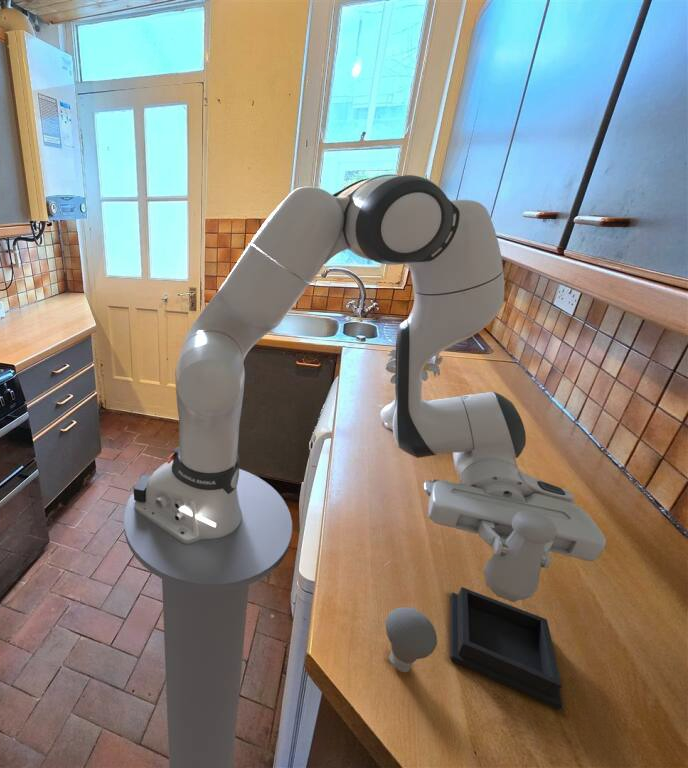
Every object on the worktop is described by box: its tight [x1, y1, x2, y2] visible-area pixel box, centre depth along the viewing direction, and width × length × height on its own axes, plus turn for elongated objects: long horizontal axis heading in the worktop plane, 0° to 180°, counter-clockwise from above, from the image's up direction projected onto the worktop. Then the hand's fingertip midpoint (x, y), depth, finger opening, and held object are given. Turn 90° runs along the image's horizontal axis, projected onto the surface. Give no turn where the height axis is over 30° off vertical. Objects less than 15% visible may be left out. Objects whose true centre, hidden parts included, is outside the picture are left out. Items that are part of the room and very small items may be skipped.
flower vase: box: [380, 349, 443, 431], centre depth 110 cm, size 13×18×25 cm
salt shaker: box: [483, 510, 557, 603], centre depth 54 cm, size 6×6×13 cm
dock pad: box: [449, 586, 563, 711], centre depth 59 cm, size 12×12×4 cm
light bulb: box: [385, 606, 438, 673], centre depth 55 cm, size 6×6×10 cm
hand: (523, 558), depth 53 cm, fingers closed on salt shaker, 3 cm apart
